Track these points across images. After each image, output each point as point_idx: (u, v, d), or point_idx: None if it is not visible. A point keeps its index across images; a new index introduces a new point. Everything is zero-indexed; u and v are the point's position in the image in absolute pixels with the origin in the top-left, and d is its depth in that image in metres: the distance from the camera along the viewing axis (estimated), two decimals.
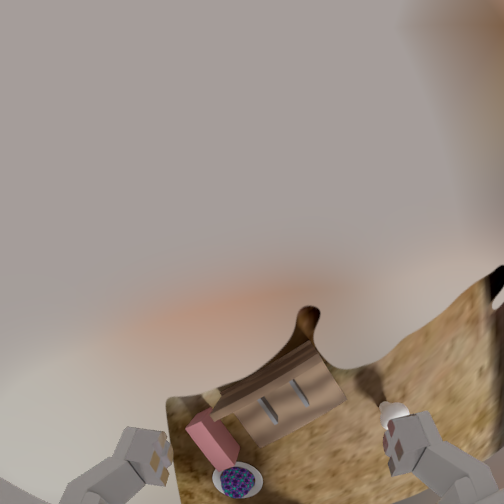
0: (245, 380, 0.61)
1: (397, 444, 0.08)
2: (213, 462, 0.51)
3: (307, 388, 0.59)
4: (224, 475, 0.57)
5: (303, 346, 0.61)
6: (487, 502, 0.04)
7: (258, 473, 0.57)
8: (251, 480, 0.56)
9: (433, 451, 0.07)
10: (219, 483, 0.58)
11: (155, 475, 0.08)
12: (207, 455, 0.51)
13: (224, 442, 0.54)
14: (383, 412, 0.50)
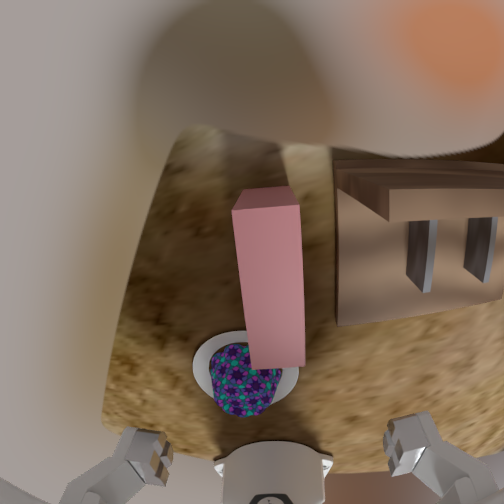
0: (402, 162, 0.24)
1: (397, 444, 0.08)
2: (255, 342, 0.21)
3: None
4: (230, 358, 0.31)
5: None
6: (487, 502, 0.04)
7: (294, 374, 0.33)
8: (277, 385, 0.32)
9: (433, 451, 0.07)
10: (204, 365, 0.33)
11: (155, 475, 0.08)
12: (251, 318, 0.21)
13: None
14: None
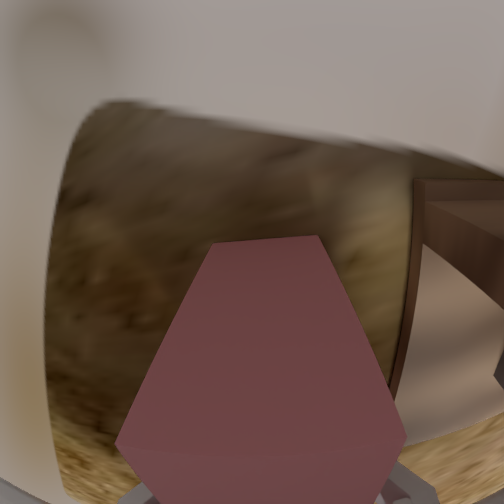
0: None
1: None
2: None
3: None
4: None
5: None
6: (487, 502, 0.04)
7: None
8: None
9: None
10: None
11: None
12: None
13: None
14: None
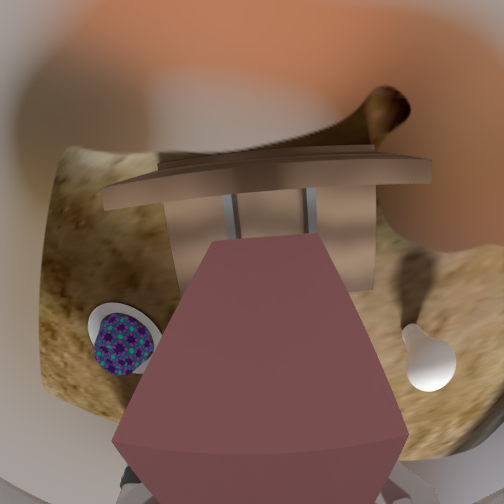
0: (217, 157, 0.29)
1: None
2: None
3: (323, 231, 0.31)
4: (109, 324, 0.36)
5: (358, 148, 0.28)
6: (487, 502, 0.04)
7: None
8: (146, 354, 0.37)
9: None
10: (96, 329, 0.39)
11: None
12: None
13: None
14: (425, 349, 0.28)
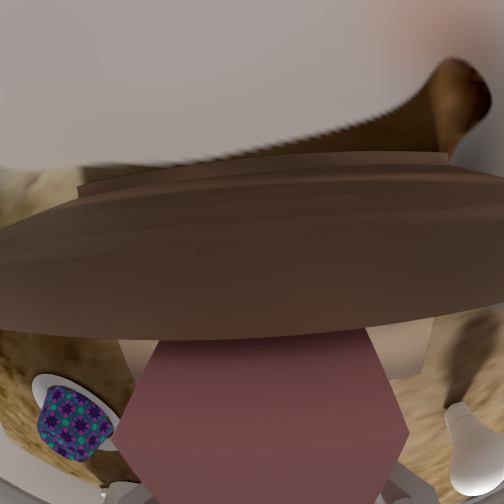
0: (171, 173, 0.16)
1: None
2: None
3: None
4: (52, 401, 0.22)
5: (424, 159, 0.15)
6: (487, 502, 0.04)
7: None
8: (103, 439, 0.24)
9: None
10: (43, 396, 0.25)
11: None
12: None
13: None
14: (480, 453, 0.14)
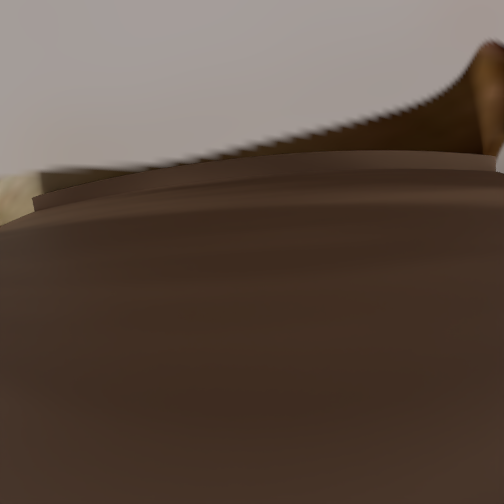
0: (141, 179, 0.12)
1: None
2: None
3: None
4: None
5: (470, 163, 0.10)
6: None
7: None
8: None
9: None
10: None
11: None
12: None
13: None
14: None
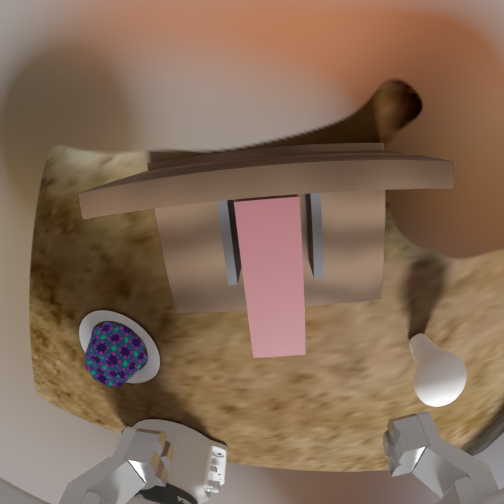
0: (212, 156, 0.27)
1: (397, 444, 0.08)
2: (257, 330, 0.22)
3: (328, 237, 0.29)
4: (102, 332, 0.33)
5: (366, 147, 0.25)
6: (487, 502, 0.04)
7: (157, 361, 0.36)
8: (139, 366, 0.35)
9: (433, 451, 0.07)
10: (87, 334, 0.36)
11: (155, 475, 0.08)
12: (253, 306, 0.21)
13: None
14: (434, 363, 0.25)
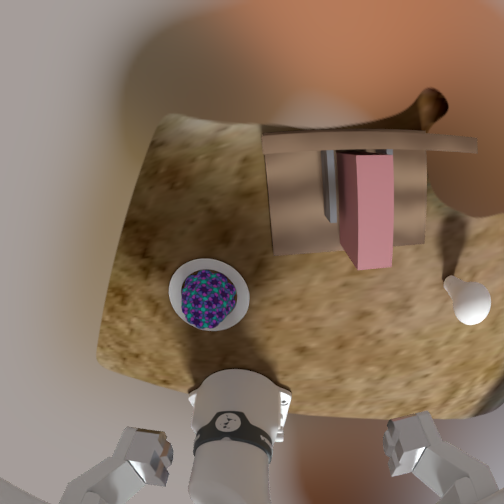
0: (313, 131, 0.35)
1: (397, 444, 0.08)
2: (362, 246, 0.31)
3: None
4: (201, 278, 0.42)
5: (415, 133, 0.34)
6: (487, 502, 0.04)
7: (245, 306, 0.45)
8: (230, 310, 0.44)
9: (433, 451, 0.07)
10: (178, 283, 0.44)
11: (155, 475, 0.08)
12: (362, 227, 0.30)
13: None
14: (468, 288, 0.34)
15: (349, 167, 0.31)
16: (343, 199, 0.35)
